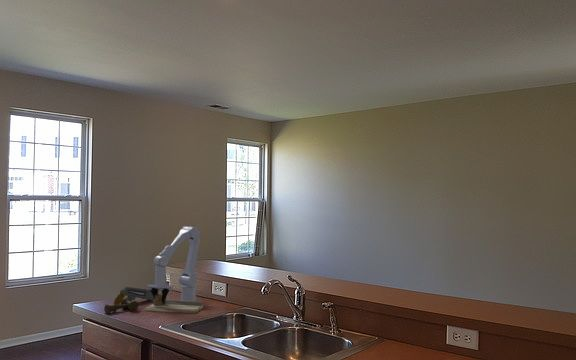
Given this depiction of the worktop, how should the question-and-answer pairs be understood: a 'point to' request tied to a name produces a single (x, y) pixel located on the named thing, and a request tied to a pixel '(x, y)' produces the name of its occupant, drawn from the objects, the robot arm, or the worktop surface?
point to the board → (177, 306)
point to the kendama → (122, 306)
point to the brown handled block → (158, 300)
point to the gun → (133, 294)
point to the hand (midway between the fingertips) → (159, 302)
